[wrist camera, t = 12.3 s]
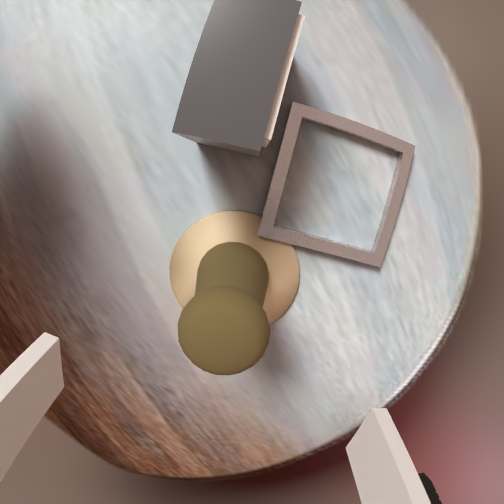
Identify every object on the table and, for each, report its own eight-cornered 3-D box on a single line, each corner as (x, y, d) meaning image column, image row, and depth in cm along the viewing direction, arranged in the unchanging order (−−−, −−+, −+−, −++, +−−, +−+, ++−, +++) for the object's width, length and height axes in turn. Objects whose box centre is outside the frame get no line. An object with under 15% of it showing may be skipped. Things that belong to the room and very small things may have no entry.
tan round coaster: (162, 315, 28) (161, 317, 27) (183, 196, 25) (183, 197, 25) (278, 343, 28) (278, 344, 28) (314, 229, 26) (315, 230, 25)
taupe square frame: (257, 233, 26) (257, 235, 25) (291, 103, 23) (293, 101, 22) (377, 264, 26) (380, 267, 26) (411, 146, 24) (415, 146, 23)
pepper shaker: (203, 312, 27) (178, 392, 16) (191, 245, 26) (152, 299, 15) (272, 305, 27) (283, 386, 16) (265, 237, 25) (274, 288, 15)
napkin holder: (196, 142, 24) (172, 132, 16) (228, 34, 21) (220, -14, 13) (262, 158, 24) (267, 153, 16) (292, 47, 21) (308, 3, 14)
